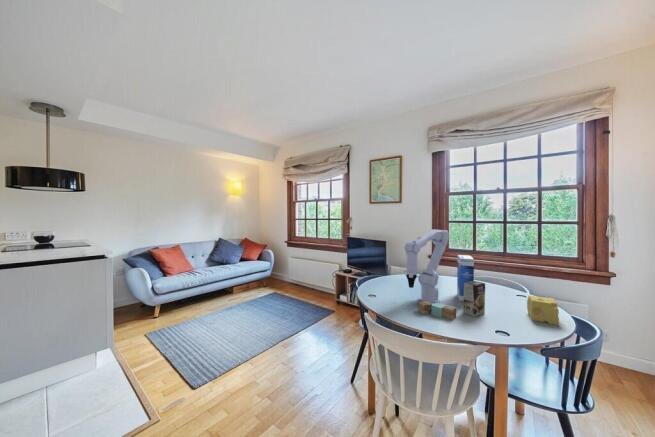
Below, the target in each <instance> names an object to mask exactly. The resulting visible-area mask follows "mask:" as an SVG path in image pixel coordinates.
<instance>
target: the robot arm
mask: <svg viewBox="0 0 655 437" xmlns="http://www.w3.org/2000/svg"><path fill="white" fill-rule="evenodd" d="M449 240H450V233H449V231H448V230H447V229H445V230H444V229H434V228H433V229H431V230H429V232H428V233H427V234H426V235H424V236H418V237H417V238H416V239H413V240H412V241H409V242H407V243H406V244H405V245H404V250H405V254H406V268H405V270H403V273H406V274H405V276H406V278H407V279H406V280H407V283H408V287H409V288H411V289H413V288H414V286H415V285H414V284H415V282H416V280H418V283H419V284H420V288H421V289H420V297H417V300H419V301H420V302H421V301H427V302H429V303H431V304H432V303H433V304H434V303H439V302H440V300H439V288H438V287H437V285H438V282H439V281H438V280H439V274H438V273H437V269H438V267H439V264H440V262H441V260H442V256H443V254H444V251H445V249H446V246H447V245H448V242H449ZM428 242H432V244H433V245H435V246H434V249H433V251H432V254H431V257H430V260H429V261H428V264H427V267H426V268H424V269H423V270H422V271H421V272H420V274H419V275H417V274H418V256H419V255H418V253H420V251H421V250H422V248H424V247H425V246H427V244H428Z"/></svg>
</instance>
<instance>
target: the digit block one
mask: <svg viewBox="0 0 655 437" xmlns="http://www.w3.org/2000/svg"><path fill="white" fill-rule="evenodd" d="M432 305H433V304H432V303H429V302H427V301H421V300H420V301H417V312H419V313H420V314H422V315H431V306H432Z"/></svg>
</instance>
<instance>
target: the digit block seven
mask: <svg viewBox="0 0 655 437" xmlns="http://www.w3.org/2000/svg"><path fill="white" fill-rule="evenodd" d="M444 305H445V306H444V307H442V317H441V318H445V319H448V320H450V321H451V320H452V321H454V320H455V319H456V318H457V307H456V306H453V305H452V306H451V305H449V304H444Z"/></svg>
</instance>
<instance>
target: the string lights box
mask: <svg viewBox="0 0 655 437" xmlns="http://www.w3.org/2000/svg"><path fill="white" fill-rule="evenodd" d="M456 264H457V275H456V277H457V282H456V283H457V285H456V286H457V290H456V292H457V293H456V296H457V297H458V301H459V302H463V300H464V283H465V282H470V281H475V280H474V279H475V274H474V272H475V259H474V258H473V256H471V255H468V254H467V255H465V254H463V255H462V254H457V263H456Z"/></svg>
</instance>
